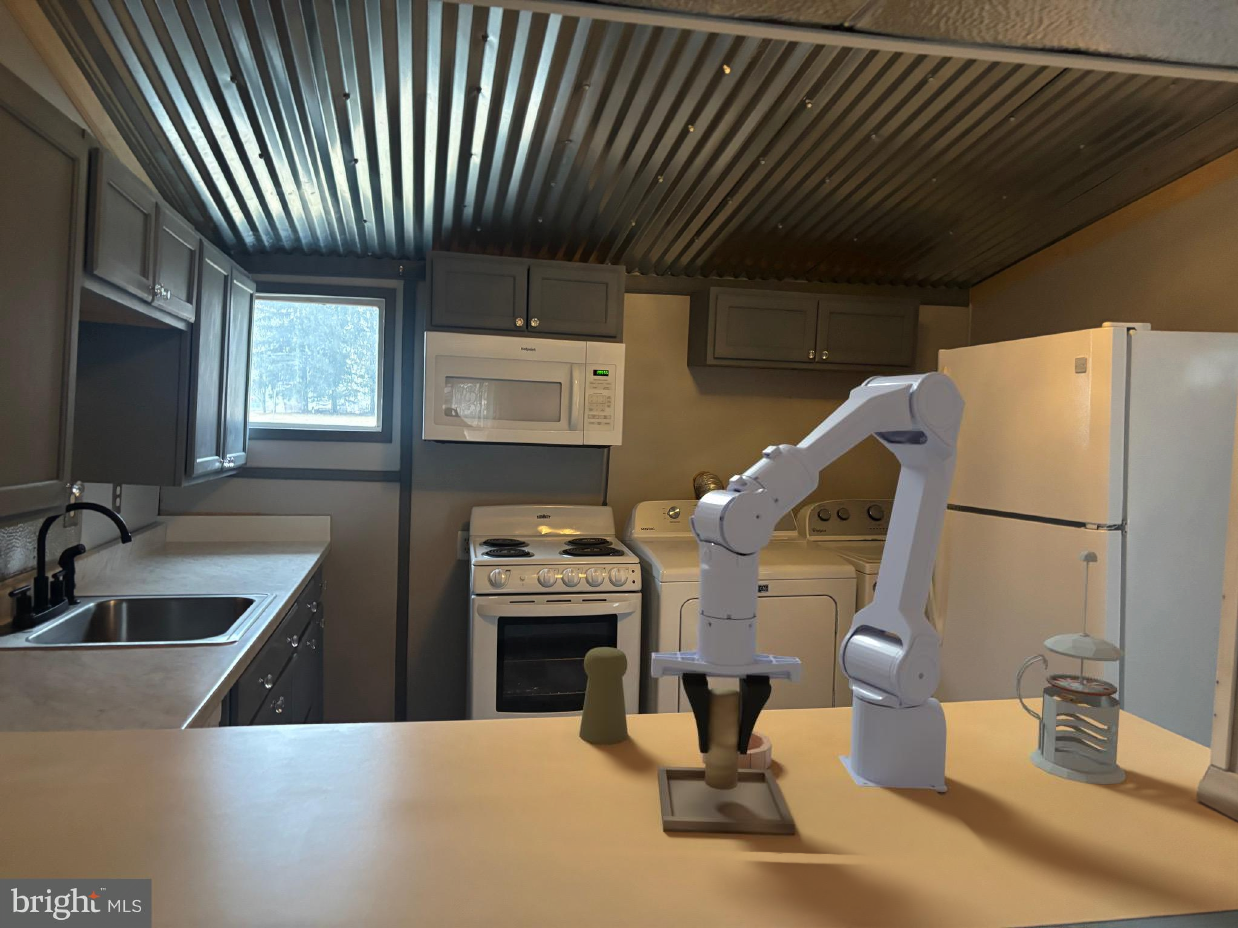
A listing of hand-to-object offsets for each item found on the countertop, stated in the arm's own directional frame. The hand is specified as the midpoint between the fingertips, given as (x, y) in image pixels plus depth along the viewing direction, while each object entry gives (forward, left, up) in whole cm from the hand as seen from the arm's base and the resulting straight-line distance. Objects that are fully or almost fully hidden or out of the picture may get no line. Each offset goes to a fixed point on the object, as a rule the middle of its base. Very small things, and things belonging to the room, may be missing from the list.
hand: (722, 749), depth 79 cm
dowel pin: (0, 0, -3) cm, 3 cm away
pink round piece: (-3, -11, -6) cm, 13 cm away
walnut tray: (0, 0, -6) cm, 6 cm away
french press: (-42, -14, -6) cm, 45 cm away
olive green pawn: (+12, -17, -6) cm, 22 cm away
